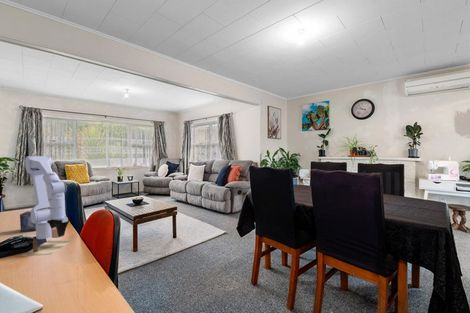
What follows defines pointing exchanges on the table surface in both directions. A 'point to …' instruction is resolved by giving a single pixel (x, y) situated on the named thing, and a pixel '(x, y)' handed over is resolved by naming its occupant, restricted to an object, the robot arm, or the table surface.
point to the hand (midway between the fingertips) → (58, 234)
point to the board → (46, 247)
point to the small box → (26, 222)
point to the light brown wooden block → (55, 233)
